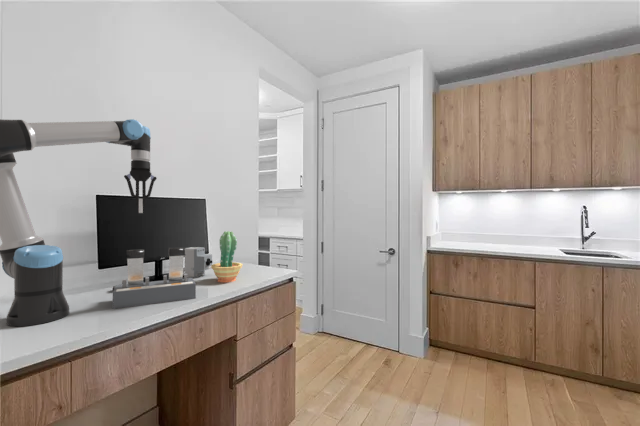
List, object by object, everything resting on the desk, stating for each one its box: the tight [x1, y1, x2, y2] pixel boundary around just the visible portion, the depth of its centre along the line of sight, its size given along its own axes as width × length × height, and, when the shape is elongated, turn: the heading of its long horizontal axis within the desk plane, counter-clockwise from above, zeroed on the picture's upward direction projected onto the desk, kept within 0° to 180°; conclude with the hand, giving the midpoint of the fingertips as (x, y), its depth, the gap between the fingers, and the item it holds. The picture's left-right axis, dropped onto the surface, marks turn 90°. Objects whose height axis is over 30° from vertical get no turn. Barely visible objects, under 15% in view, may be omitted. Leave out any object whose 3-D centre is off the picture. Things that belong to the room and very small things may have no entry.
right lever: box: [168, 247, 186, 282], centre depth 122 cm, size 6×3×15 cm, turn 119°
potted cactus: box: [211, 230, 244, 283], centre depth 155 cm, size 15×15×25 cm
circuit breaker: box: [183, 246, 214, 278], centre depth 165 cm, size 8×14×15 cm, turn 78°
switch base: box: [112, 273, 197, 310], centre depth 122 cm, size 28×12×9 cm, turn 119°
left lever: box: [125, 249, 145, 286], centre depth 115 cm, size 6×3×15 cm, turn 119°
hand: (140, 212), depth 138 cm, fingers closed
